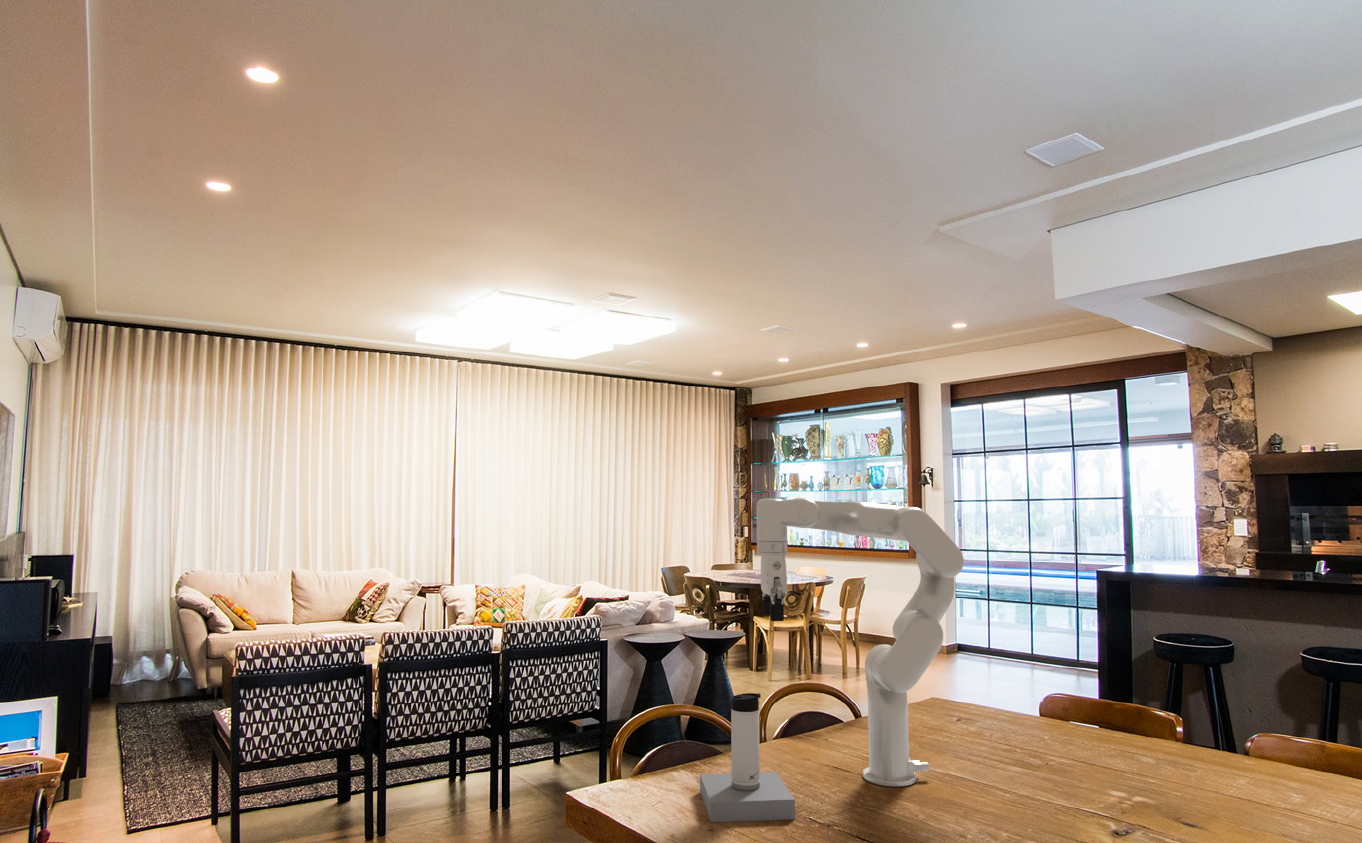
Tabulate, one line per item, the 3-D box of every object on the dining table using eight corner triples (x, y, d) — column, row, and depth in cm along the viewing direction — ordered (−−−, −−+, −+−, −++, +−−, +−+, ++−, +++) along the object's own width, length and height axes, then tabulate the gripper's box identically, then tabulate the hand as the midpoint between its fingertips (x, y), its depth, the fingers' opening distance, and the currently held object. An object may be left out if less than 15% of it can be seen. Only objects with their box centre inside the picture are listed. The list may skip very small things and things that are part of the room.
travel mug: (759, 792, 176) (759, 697, 178) (729, 789, 177) (729, 695, 179) (762, 782, 182) (762, 691, 184) (733, 780, 183) (733, 689, 185)
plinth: (776, 789, 189) (776, 771, 189) (795, 818, 171) (794, 799, 172) (700, 791, 187) (700, 774, 188) (710, 822, 169) (710, 802, 170)
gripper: (795, 550, 194) (796, 623, 192) (779, 546, 211) (780, 613, 209) (764, 550, 193) (764, 623, 191) (750, 546, 210) (751, 613, 208)
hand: (772, 618), depth 200 cm, fingers open, 9 cm apart
